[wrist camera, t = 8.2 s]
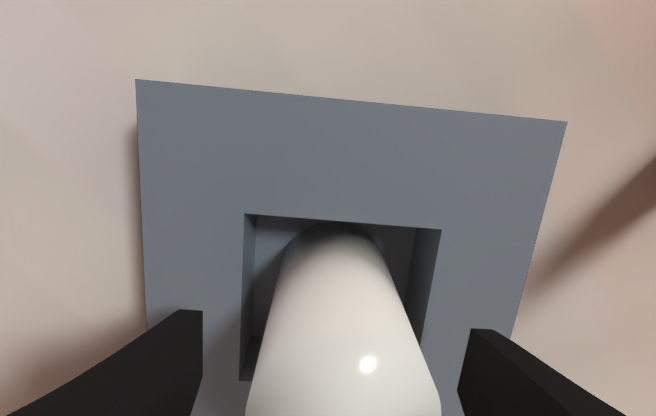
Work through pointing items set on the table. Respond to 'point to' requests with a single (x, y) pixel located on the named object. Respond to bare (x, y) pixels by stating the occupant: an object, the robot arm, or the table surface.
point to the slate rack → (334, 214)
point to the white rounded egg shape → (339, 335)
